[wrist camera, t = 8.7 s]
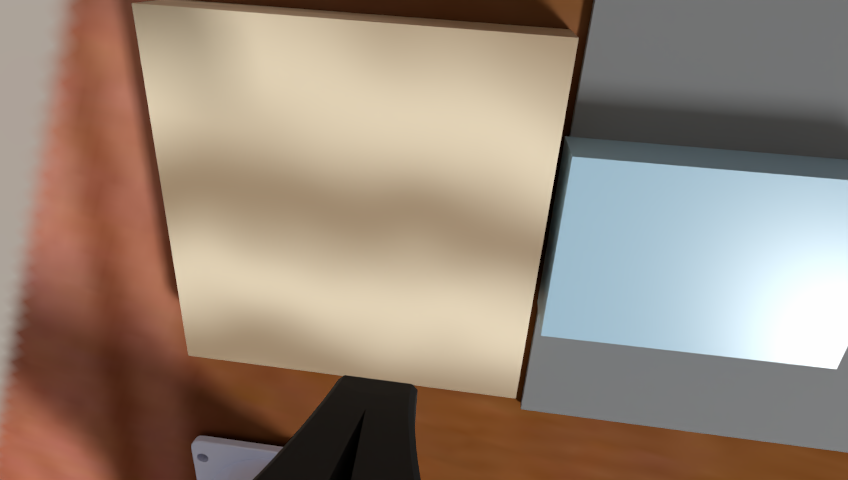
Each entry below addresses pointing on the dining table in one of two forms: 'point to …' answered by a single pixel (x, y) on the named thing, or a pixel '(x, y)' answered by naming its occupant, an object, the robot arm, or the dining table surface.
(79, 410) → the dining table surface
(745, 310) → the light blue block
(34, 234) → the dining table surface
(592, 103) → the mat
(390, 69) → the beige flat square slab
